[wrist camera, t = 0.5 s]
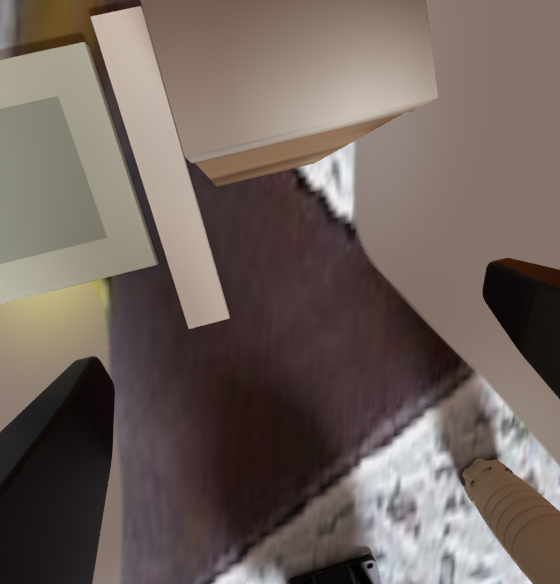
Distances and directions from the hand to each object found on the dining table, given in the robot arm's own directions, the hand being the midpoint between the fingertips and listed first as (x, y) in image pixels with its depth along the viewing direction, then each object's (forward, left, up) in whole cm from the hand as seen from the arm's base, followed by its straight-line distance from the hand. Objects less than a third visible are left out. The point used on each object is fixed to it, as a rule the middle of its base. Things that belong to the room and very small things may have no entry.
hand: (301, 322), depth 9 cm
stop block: (+7, -1, -14) cm, 15 cm away
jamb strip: (+5, +4, -13) cm, 15 cm away
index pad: (+6, +11, -13) cm, 18 cm away
